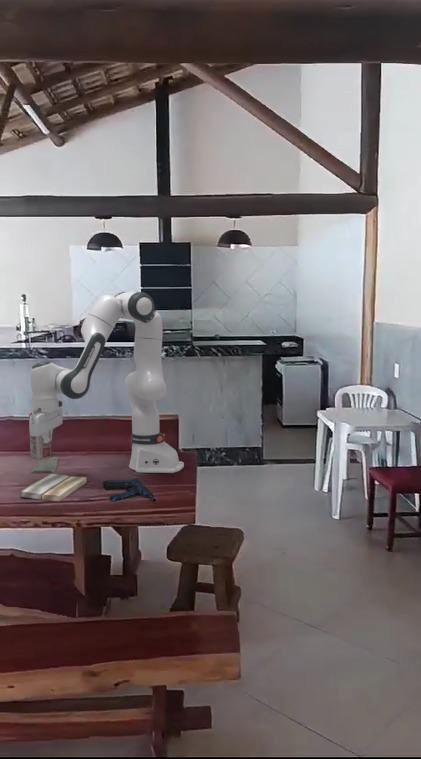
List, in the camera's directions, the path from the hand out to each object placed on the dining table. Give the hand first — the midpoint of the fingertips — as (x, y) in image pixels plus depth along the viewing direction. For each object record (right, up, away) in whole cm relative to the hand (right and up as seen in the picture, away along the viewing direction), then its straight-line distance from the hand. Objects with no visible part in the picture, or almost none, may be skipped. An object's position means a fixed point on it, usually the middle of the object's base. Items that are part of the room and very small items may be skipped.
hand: (47, 442), depth 240 cm
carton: (-13, -10, +41) cm, 44 cm away
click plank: (0, -16, -5) cm, 17 cm away
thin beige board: (+8, -17, -7) cm, 20 cm away
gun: (+31, -18, -10) cm, 37 cm away
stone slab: (-8, -13, +26) cm, 30 cm away
